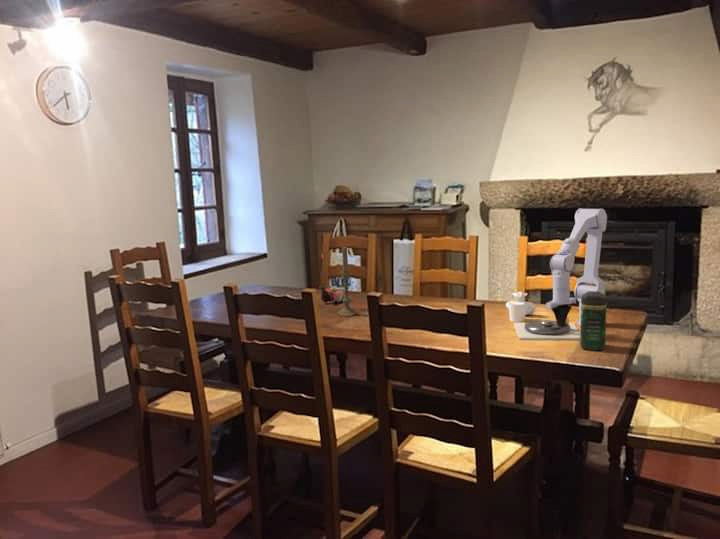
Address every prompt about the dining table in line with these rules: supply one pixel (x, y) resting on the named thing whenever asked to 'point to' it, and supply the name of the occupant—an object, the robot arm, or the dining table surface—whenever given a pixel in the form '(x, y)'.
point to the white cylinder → (517, 311)
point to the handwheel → (547, 327)
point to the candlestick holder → (346, 285)
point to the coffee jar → (593, 321)
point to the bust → (520, 298)
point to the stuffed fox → (331, 295)
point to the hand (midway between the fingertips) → (560, 325)
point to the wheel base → (526, 335)
